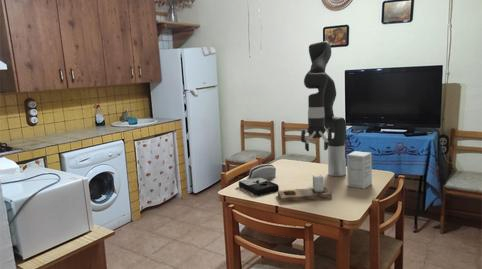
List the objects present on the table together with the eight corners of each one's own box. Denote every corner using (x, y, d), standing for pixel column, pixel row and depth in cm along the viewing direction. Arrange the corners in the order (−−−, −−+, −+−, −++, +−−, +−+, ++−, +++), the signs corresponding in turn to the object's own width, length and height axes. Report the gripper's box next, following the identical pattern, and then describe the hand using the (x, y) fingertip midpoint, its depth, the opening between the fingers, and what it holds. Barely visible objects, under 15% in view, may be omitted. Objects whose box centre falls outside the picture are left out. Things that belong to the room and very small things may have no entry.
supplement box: (372, 184, 189) (372, 152, 186) (364, 189, 183) (364, 156, 180) (354, 181, 196) (354, 150, 193) (346, 185, 189) (346, 154, 186)
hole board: (325, 191, 182) (325, 186, 181) (331, 198, 172) (331, 193, 171) (277, 195, 180) (277, 190, 180) (281, 203, 170) (281, 197, 170)
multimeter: (257, 197, 181) (257, 187, 180) (238, 187, 198) (238, 178, 197) (279, 191, 187) (278, 182, 186) (258, 182, 204) (258, 174, 203)
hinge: (271, 175, 215) (273, 160, 211) (275, 179, 212) (277, 165, 207) (246, 180, 208) (248, 165, 203) (250, 185, 204) (252, 170, 200)
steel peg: (321, 194, 179) (320, 174, 177) (323, 197, 175) (323, 177, 173) (313, 195, 178) (312, 175, 177) (315, 197, 174) (315, 177, 173)
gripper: (328, 114, 174) (328, 148, 177) (299, 116, 174) (299, 149, 176) (333, 116, 167) (333, 151, 170) (302, 118, 166) (303, 152, 169)
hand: (316, 150), depth 173 cm, fingers open, 8 cm apart
